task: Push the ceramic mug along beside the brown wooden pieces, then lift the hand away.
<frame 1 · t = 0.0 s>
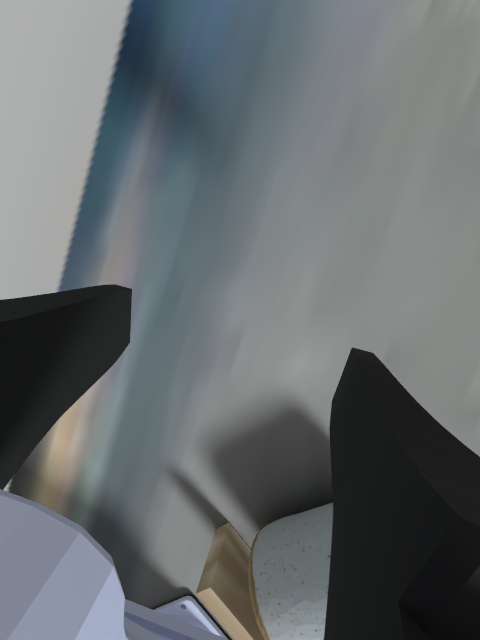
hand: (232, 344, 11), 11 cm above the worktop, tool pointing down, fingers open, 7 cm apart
brown wooden pieces: (395, 613, 25), on the worktop
ceramic mug: (339, 538, 25), on the worktop
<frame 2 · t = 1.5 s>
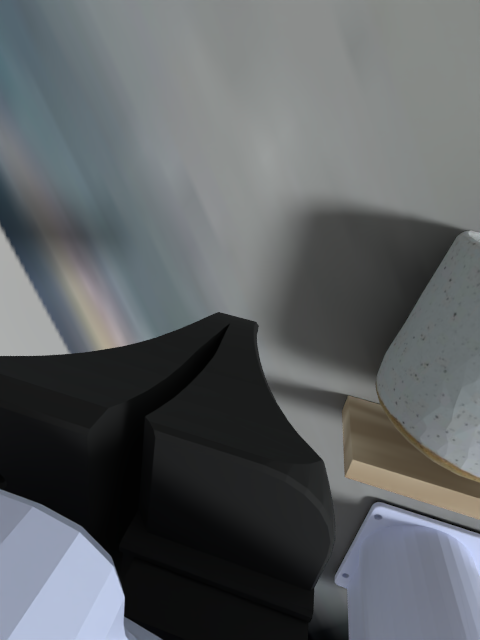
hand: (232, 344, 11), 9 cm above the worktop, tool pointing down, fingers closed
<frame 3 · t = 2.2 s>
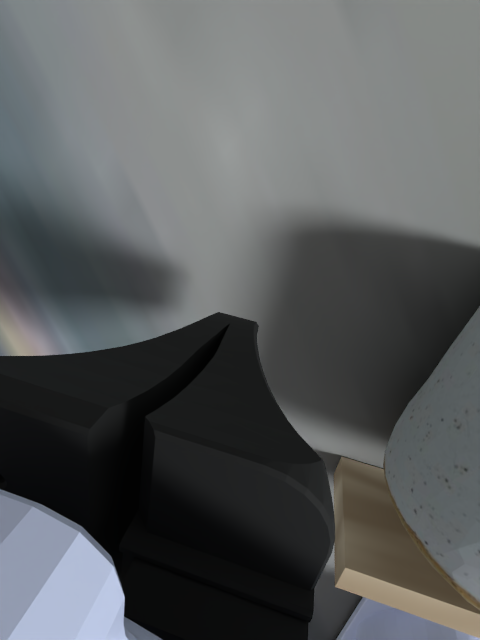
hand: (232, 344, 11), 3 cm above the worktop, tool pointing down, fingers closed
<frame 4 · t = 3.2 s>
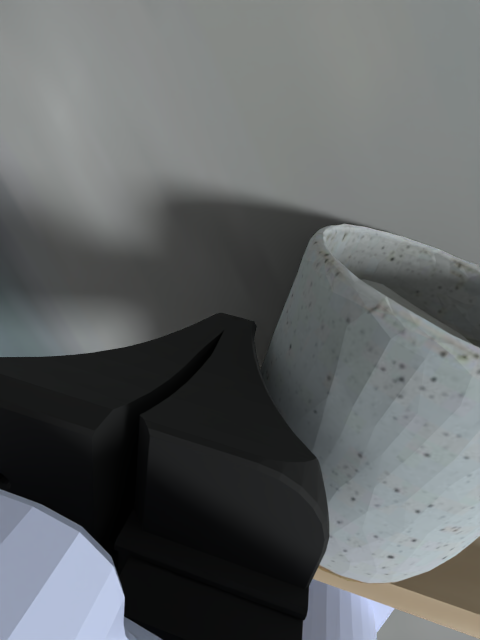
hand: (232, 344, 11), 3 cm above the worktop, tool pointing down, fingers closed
ceramic mug: (407, 344, 14), on the worktop, touching gripper
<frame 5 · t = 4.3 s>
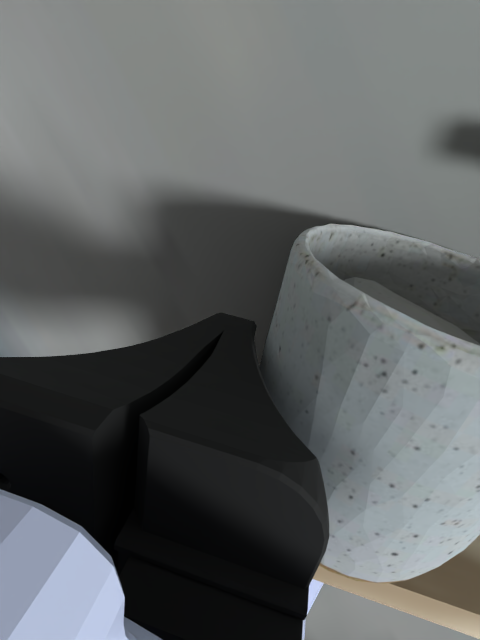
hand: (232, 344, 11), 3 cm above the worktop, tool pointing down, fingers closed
brown wooden pieces: (436, 353, 13), on the worktop
ceramic mug: (406, 339, 14), on the worktop, touching gripper
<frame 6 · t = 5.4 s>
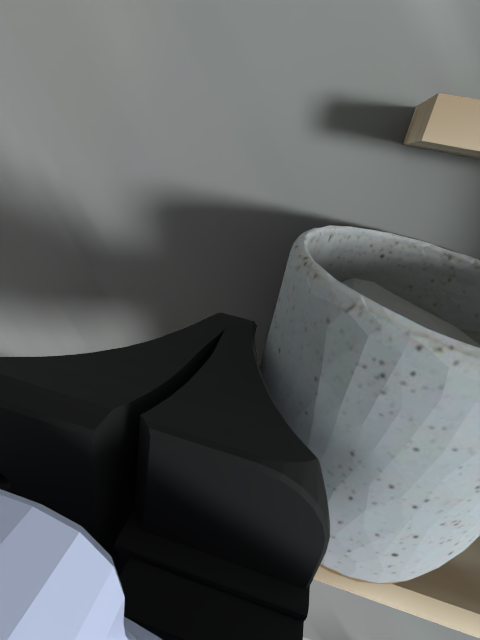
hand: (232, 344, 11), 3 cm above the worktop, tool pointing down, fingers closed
brown wooden pieces: (339, 327, 14), on the worktop
ceramic mug: (406, 340, 14), on the worktop, touching gripper
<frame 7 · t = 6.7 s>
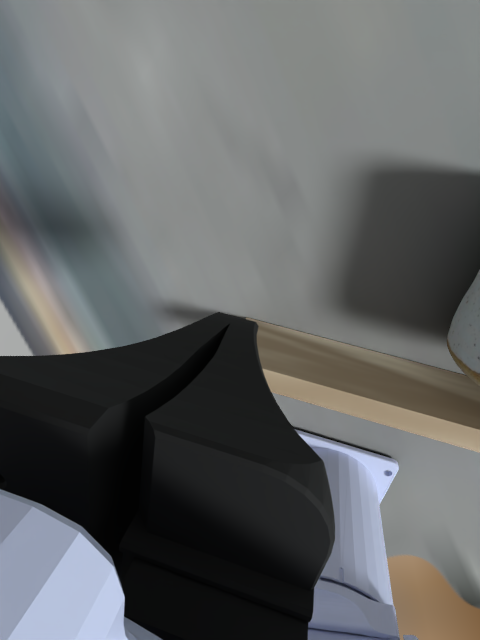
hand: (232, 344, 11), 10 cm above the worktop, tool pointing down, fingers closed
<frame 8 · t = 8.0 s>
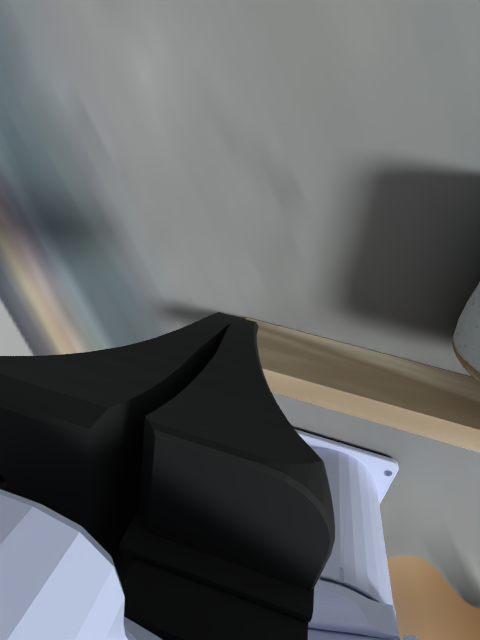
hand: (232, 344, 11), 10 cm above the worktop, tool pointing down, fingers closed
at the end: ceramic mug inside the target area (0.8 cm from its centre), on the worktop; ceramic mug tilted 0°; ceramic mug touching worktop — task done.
